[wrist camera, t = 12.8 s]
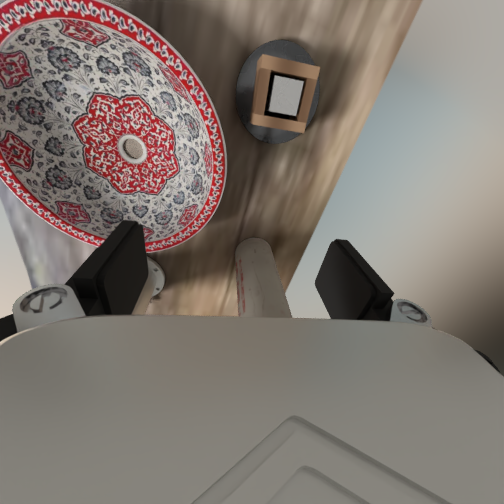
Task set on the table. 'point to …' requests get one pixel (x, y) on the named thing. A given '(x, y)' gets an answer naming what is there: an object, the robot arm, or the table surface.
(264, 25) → the table surface
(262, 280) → the thermos bottle
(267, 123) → the hollow wooden square
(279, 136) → the post base
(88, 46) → the ceramic bowl
